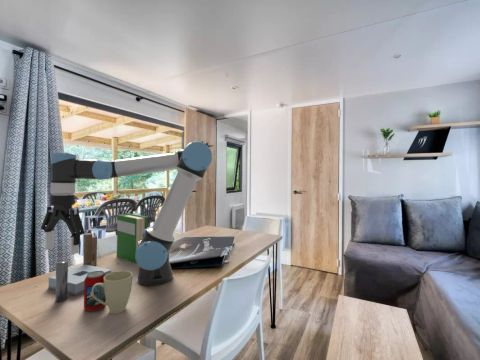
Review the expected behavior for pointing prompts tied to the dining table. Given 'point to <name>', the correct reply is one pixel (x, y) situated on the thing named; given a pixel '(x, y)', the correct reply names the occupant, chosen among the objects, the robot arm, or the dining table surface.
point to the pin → (61, 281)
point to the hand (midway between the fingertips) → (61, 251)
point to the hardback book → (129, 235)
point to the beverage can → (99, 292)
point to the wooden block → (90, 250)
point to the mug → (116, 290)
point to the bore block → (77, 278)
